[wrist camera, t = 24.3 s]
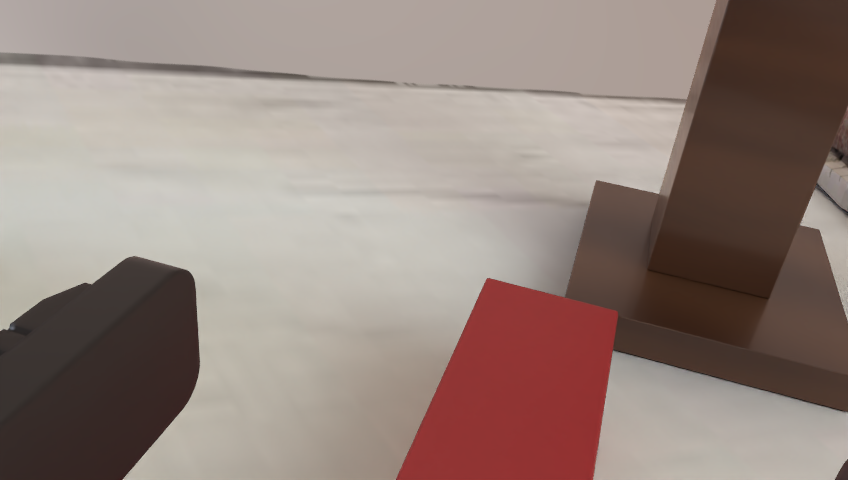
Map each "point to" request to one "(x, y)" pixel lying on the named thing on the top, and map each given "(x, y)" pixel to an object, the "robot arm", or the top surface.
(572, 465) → the long red slab
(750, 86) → the wooden lectern
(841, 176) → the packaged product
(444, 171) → the top surface
